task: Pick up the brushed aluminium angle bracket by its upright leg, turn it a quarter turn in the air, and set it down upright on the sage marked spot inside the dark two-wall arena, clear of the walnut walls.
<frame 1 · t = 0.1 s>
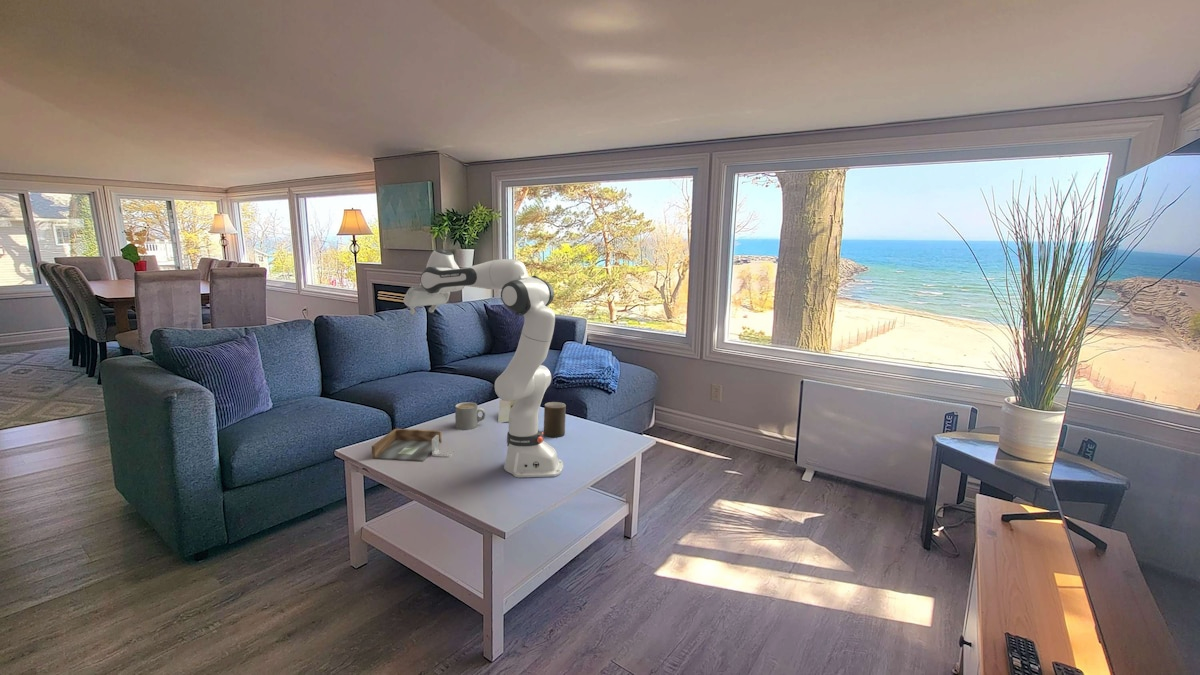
hand: (421, 312, 211), 54 cm above the table, tool tilted 30°, fingers open, 8 cm apart
coffee mug: (470, 426, 233), on the table
wall: (515, 419, 246), on the table
arena: (408, 449, 203), on the table
aluminium bracket: (443, 454, 201), on the table
pillar candle: (554, 434, 228), on the table
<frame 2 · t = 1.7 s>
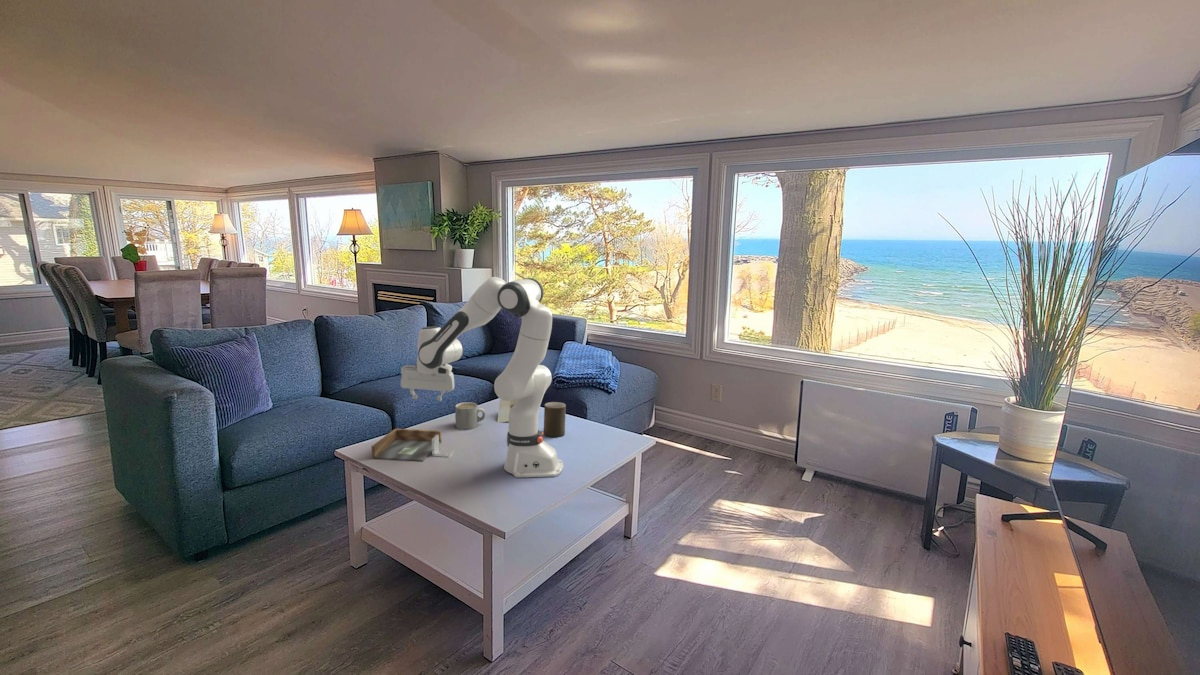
hand: (427, 399, 200), 21 cm above the table, tool pointing down, fingers open, 8 cm apart
nothing on the table moved.
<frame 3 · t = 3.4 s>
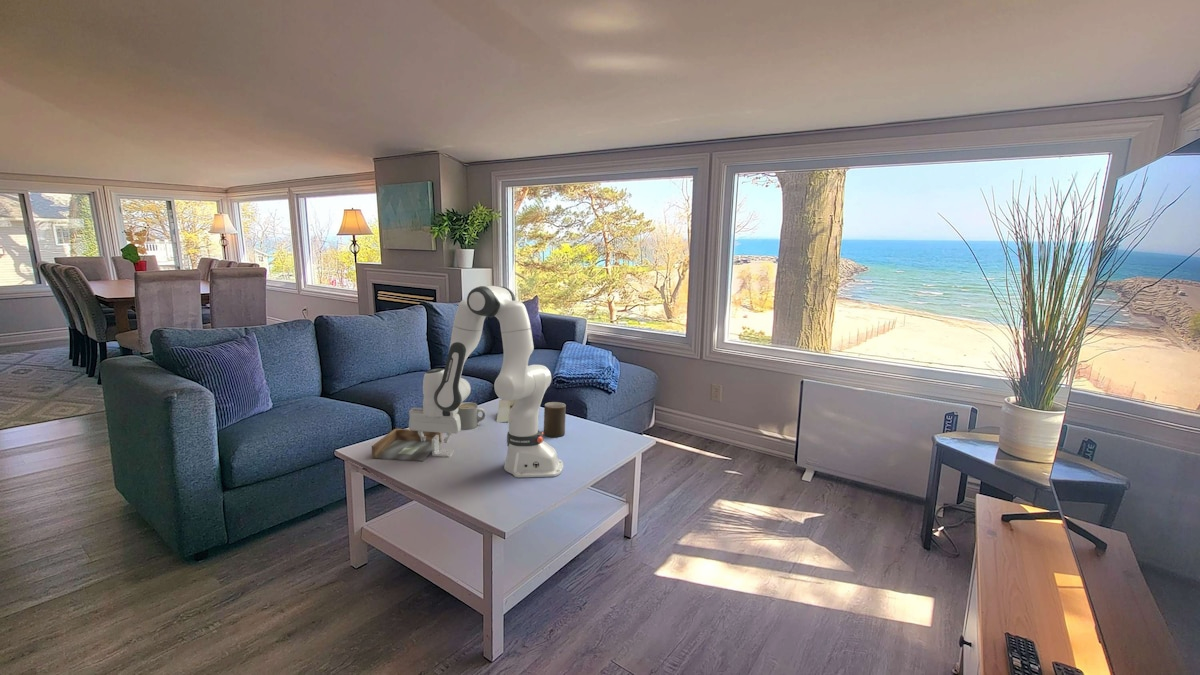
hand: (434, 441, 201), 5 cm above the table, tool pointing down, fingers open, 8 cm apart
nothing on the table moved.
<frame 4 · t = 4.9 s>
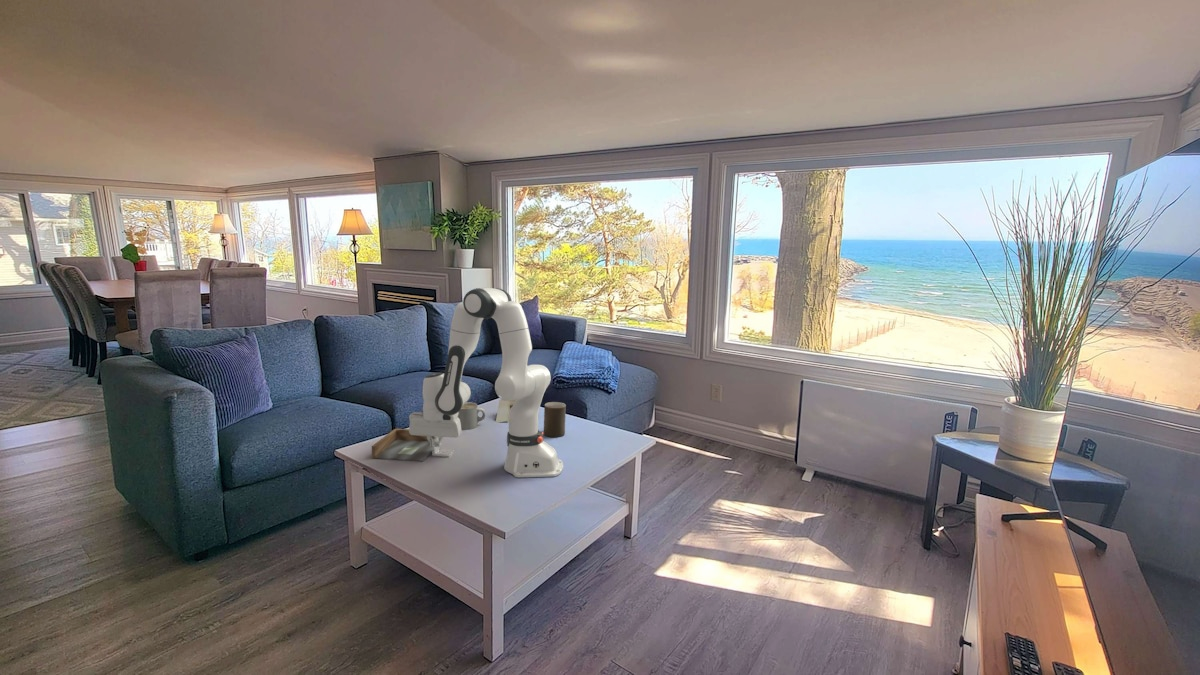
hand: (435, 446, 200), 3 cm above the table, tool pointing down, fingers closed on aluminium bracket
aluminium bracket: (443, 453, 201), on the table, touching gripper
everything else where it was.
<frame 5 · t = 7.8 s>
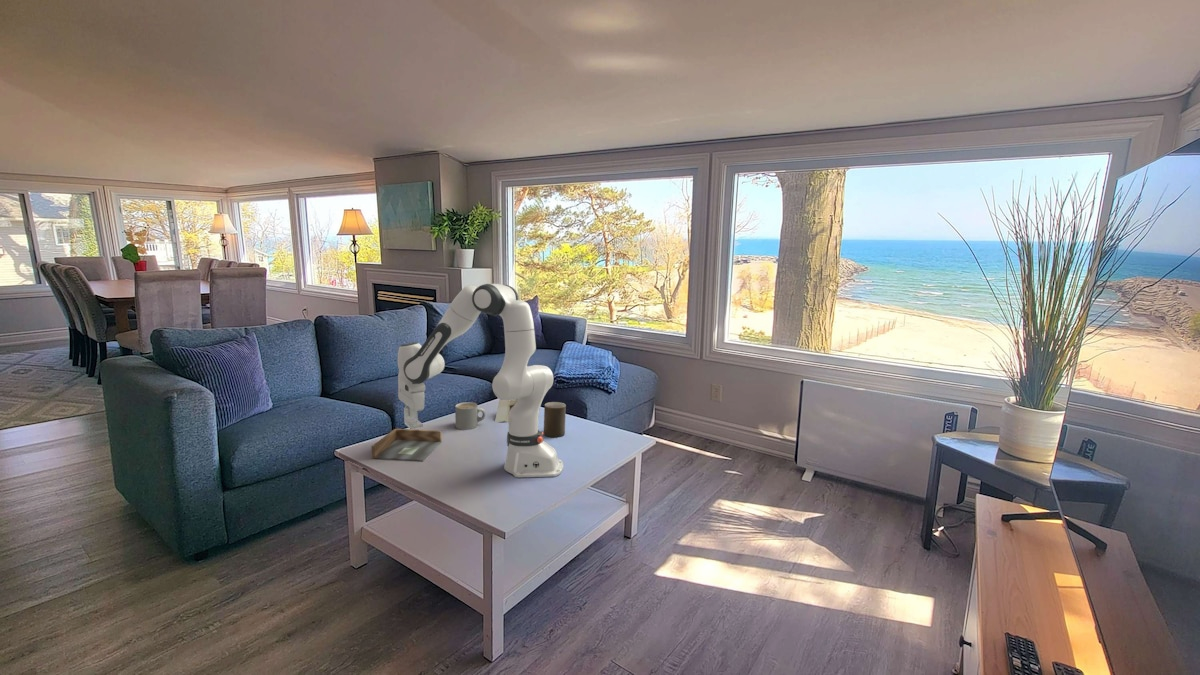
hand: (410, 415, 202), 14 cm above the table, tool pointing down, fingers closed on aluminium bracket
aluminium bracket: (413, 425, 200), point 11 cm above the table, touching gripper
everything else where it was.
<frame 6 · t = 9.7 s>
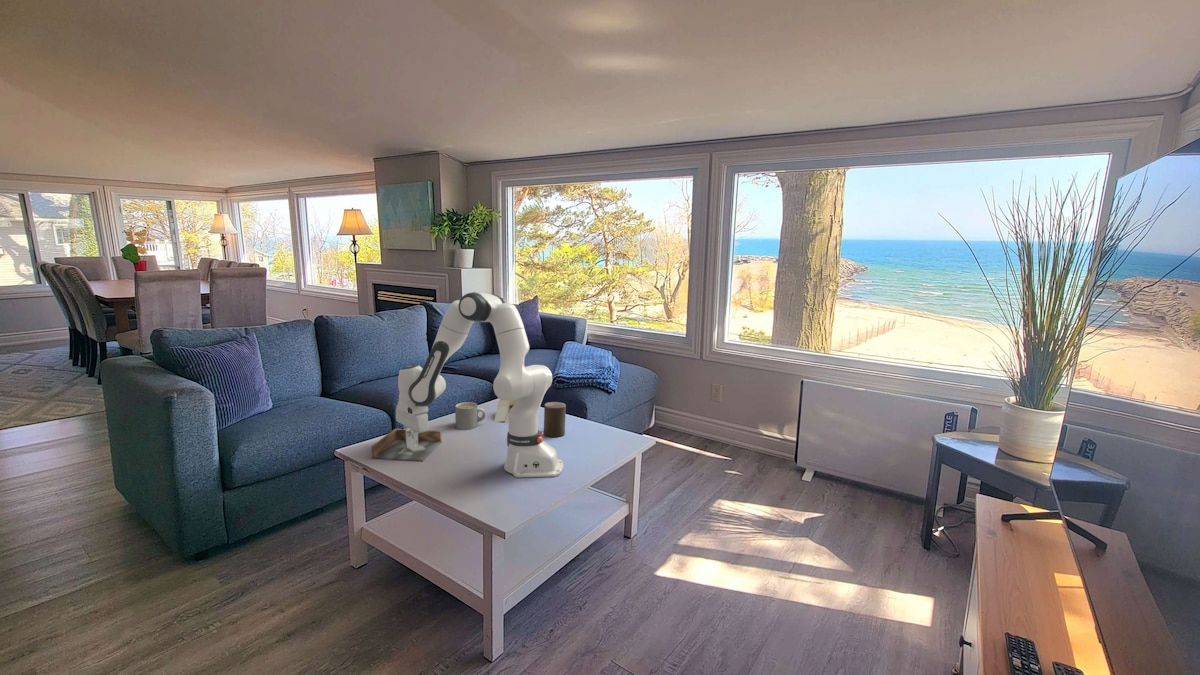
hand: (411, 437, 203), 5 cm above the table, tool pointing down, fingers open, 4 cm apart
aluminium bracket: (415, 449, 202), point 1 cm above the table, touching arena
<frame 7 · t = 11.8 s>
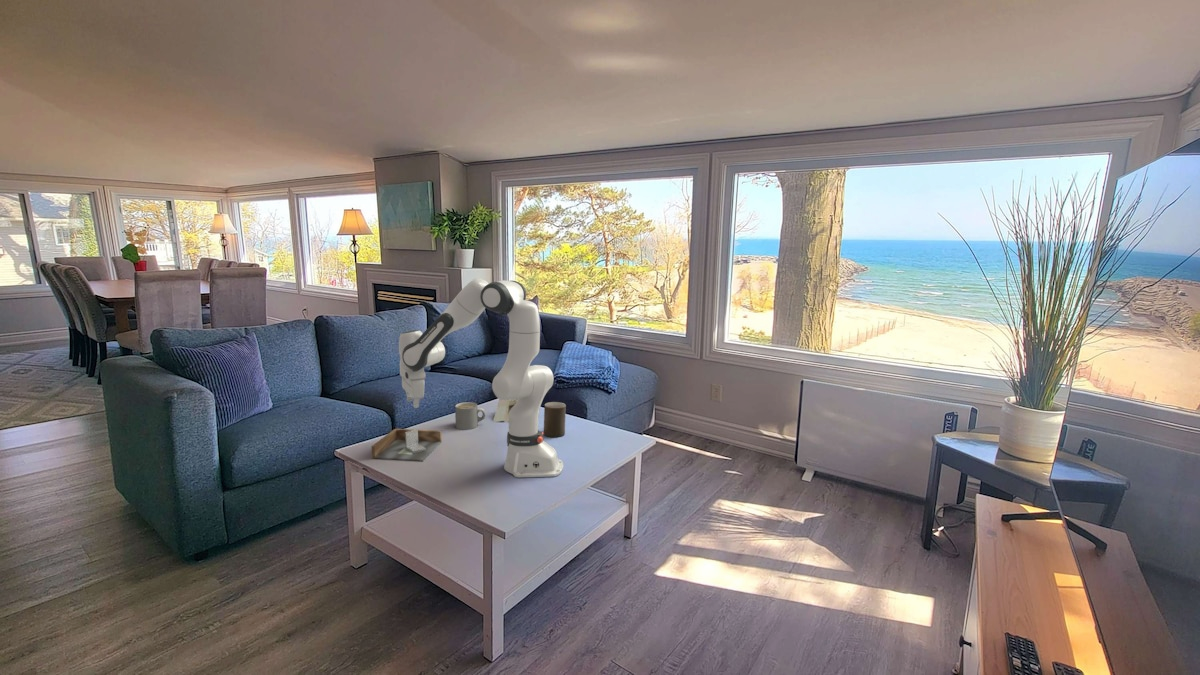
hand: (412, 404, 200), 19 cm above the table, tool pointing down, fingers open, 8 cm apart
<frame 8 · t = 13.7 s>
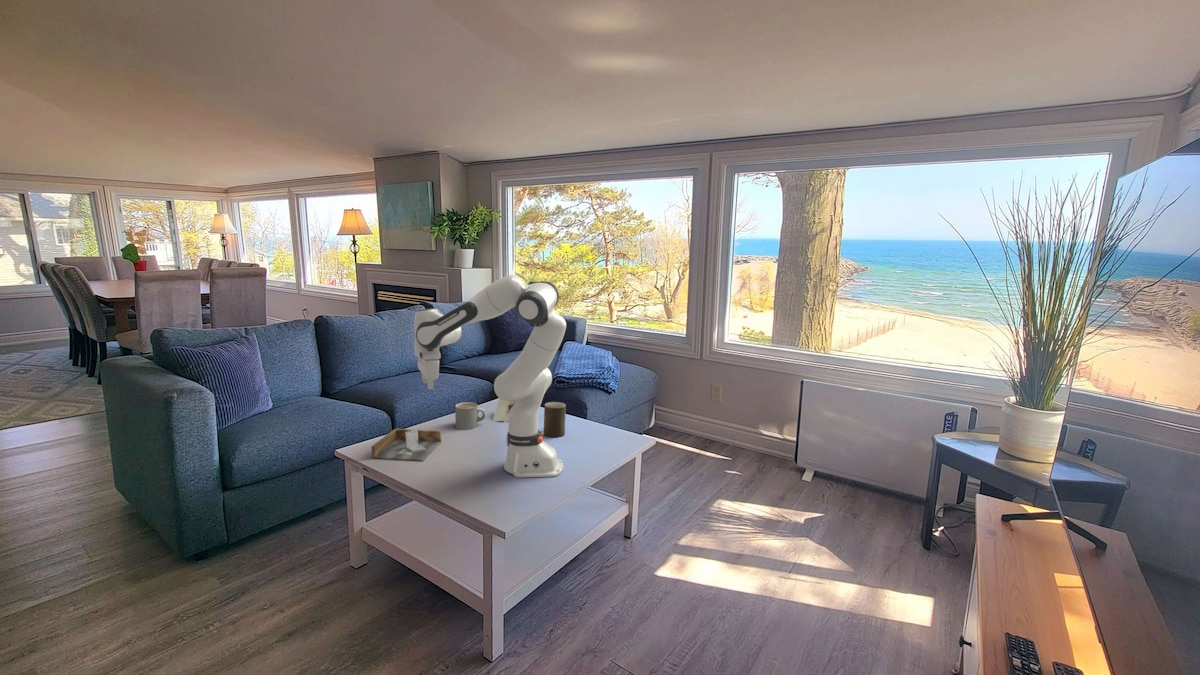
hand: (427, 385, 192), 29 cm above the table, tool pointing down, fingers open, 8 cm apart
at the end: aluminium bracket 2.6 cm from the target spot on the arena, point 0.7 cm above the arena's base; aluminium bracket tilted 0°; the gripper is holding nothing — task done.
